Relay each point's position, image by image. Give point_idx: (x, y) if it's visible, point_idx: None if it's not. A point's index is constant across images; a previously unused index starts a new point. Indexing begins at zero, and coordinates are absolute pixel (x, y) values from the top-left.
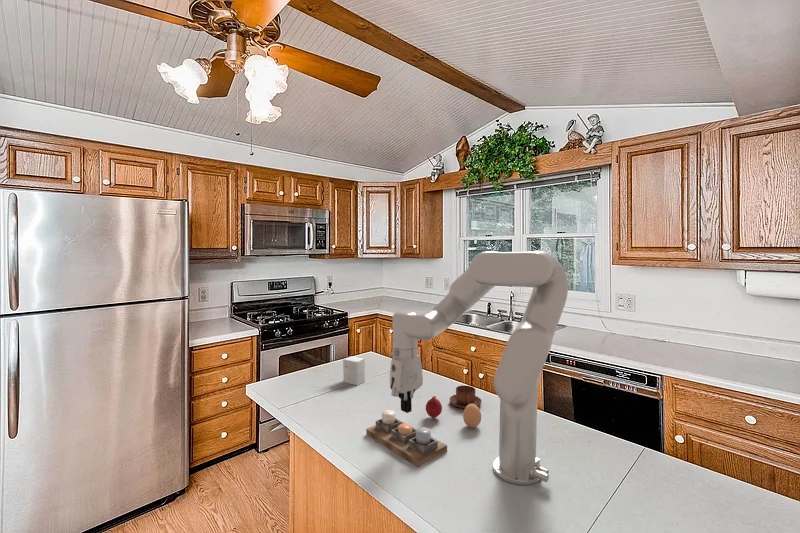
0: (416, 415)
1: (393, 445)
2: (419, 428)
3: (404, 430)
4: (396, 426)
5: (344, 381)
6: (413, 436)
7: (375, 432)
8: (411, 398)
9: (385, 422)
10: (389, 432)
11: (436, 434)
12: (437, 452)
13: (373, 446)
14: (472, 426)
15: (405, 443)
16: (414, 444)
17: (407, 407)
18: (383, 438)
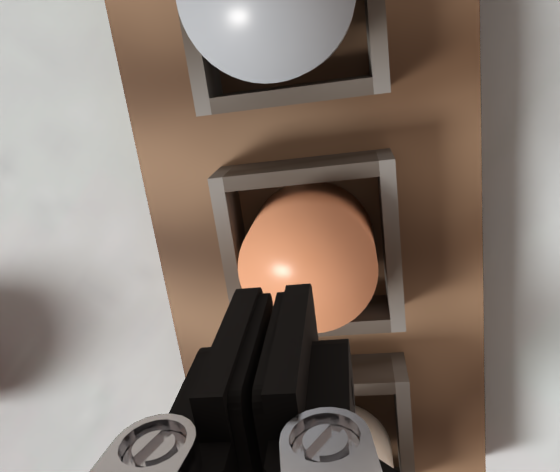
0: (34, 462)
1: (481, 179)
2: (264, 71)
3: (354, 218)
4: None
5: None
6: (278, 165)
7: (467, 416)
8: (174, 415)
9: (386, 443)
10: (380, 355)
11: (42, 185)
12: None
13: (537, 314)
14: None
15: (377, 147)
16: (383, 6)
17: (306, 322)
18: (475, 313)
